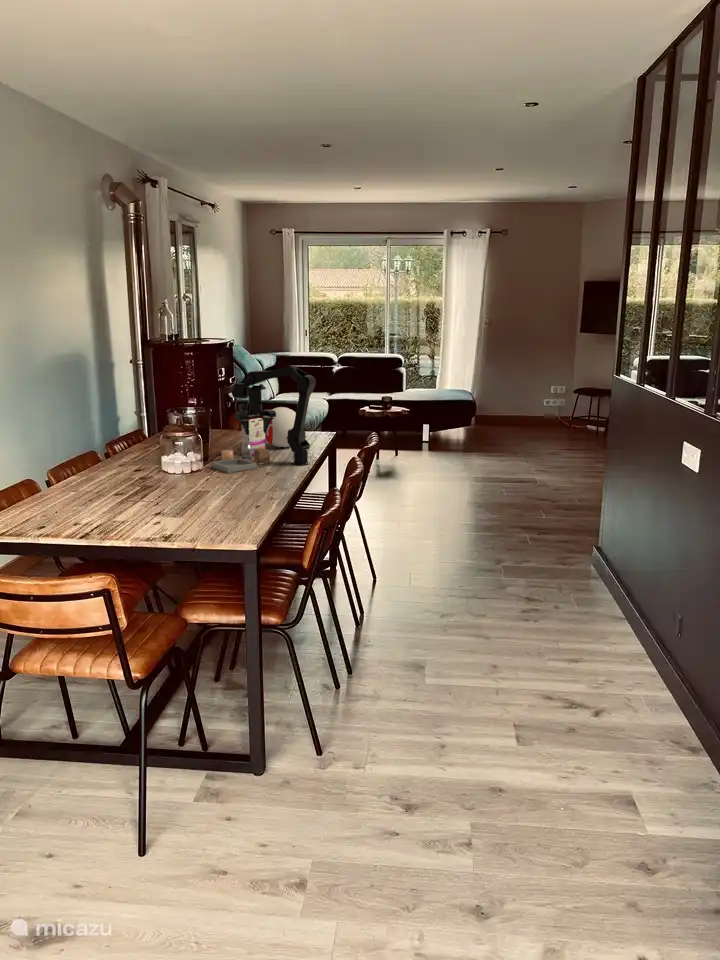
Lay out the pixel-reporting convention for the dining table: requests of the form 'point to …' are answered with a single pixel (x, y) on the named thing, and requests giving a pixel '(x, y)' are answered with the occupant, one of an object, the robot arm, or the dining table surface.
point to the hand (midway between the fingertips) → (255, 433)
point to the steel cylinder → (246, 451)
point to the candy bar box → (255, 434)
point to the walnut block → (261, 455)
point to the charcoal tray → (234, 465)
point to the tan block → (227, 454)
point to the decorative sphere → (280, 427)
